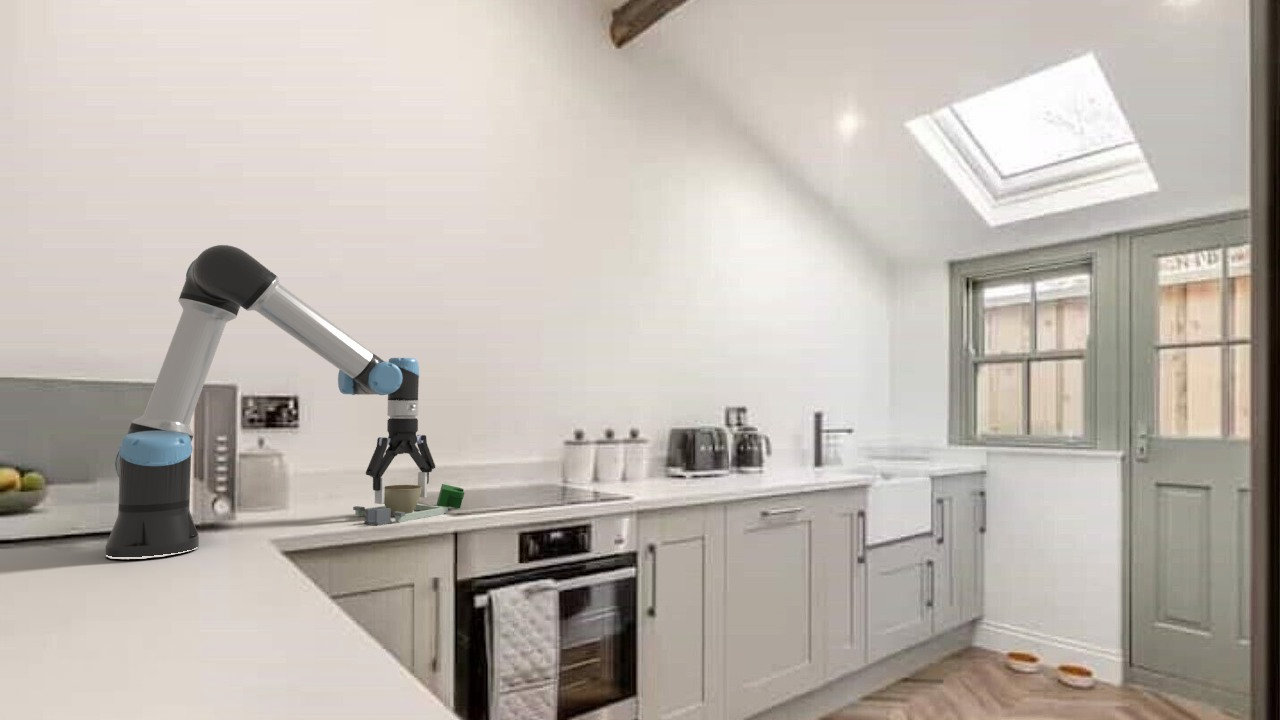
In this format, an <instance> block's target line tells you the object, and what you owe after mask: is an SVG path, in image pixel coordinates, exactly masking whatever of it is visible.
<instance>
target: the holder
mask: <svg viewBox="0 0 1280 720" xmlns="http://www.w3.org/2000/svg"><path fill="white" fill-rule="evenodd" d="M376 507H377V506H373V507H372V508H376ZM378 507H382V509H385V508H386V507H385V505H380V506H378ZM369 508H370V507H368V508H366V507H364V506H359V505H357V506H353V507H352V510H353V511H354V512H355V513H354V515H355V517H364V516H365V517H366V509H369ZM418 510H420V511H418ZM444 513H446V514H448V513H449V507H448V506H446V507H441V506H437V505H431V504H421V503H417V505H416V507H415V509H414V511H413V512H412V513H408V514H405V512H398V511H396V512H393V515H394V516H393V517H395V519H394V521H395V523H402V521H403V522H408V520H409V521H414V520H419V519H423V518H424V517H425V518H429V516H430V517H435V516H440V515H439V514H441V515H445V514H444ZM434 515H435V516H434ZM425 518H424V519H425Z"/></svg>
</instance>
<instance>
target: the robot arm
mask: <svg viewBox="0 0 1280 720" xmlns="http://www.w3.org/2000/svg"><path fill="white" fill-rule="evenodd" d="M279 281H280V280H279V277H278V275H276V274H275V273H274V272H272V271H271V270H270V269H268V268H267V267H266V266H264V265H263V264H262V263H261V262H260V261H258V260H257V259H255V258H254V257H253V256H251V255H250V254H249V253H248V252H246V251H244V250H243V249H241V248H238V247H236V246H233V245H228V244H217V245H214V246H210V247H208V248H206V249H204V250H203V251H202V252H201V253H200V254H199V255H198V256H197V257H196V258H195V259H194V260H193V261H191V263H190V264H189V266H188V268H187V270H186V274H185V281H184V283H183V284H184V285H183V287H182V288H181V292H180V295H179V297H178V302H179V304H180V306H181V308H182V313H181V316H180V318H179V321H178V323H177V325H176V329H175V331H174V334H173V336H172V339H171V341H170V344H169V347H168V349H167V352H166V355H165V358H164V360H163V362H162V364H161V365H162V366H161V368H160V371H159V374H158V376H157V378H156V380H155V383H154V387H153V390H152V391H151V394H150V397H149V399H148V403H147V404H146V407H145V410H144V412H143V414H142V416H139V417H138V418H136V419H133V420H132V421H131V422H130V426H129V428H128V431H127V433H126V434H125V435H124V436H123V437H122V438H121V442H120V446H119V447H118V451H117V454H116V456H115V461H114V466H115V471H116V474H117V476H118V478H119V479H118V482H119V483H118V505H117V506H118V508H117V509H118V510H117V517H116V519H115V522H114V525H113V527H112V530H111V532H110V535H109V537H108V540H107V541H106V545H105V554H106V555H108V556H112V557H142V556H154V555H163V554H171V553H178V552H183V551H187V550H192V549H194V548H196V547H198V546H199V542H200V540H199V539H200V537H199V534H198V529H197V528H196V525H195V522H194V520H193V516H192V513H191V511H190V510H191V509H190V503H191V502H190V501H191V500H190V499H191V498H190V497H191V496H190V495H191V474H192V473H191V470H192V469H191V468H192V453H193V446H192V441H193V438H194V435H195V434H194V432H193V431H192V429H191V428H190V424H191V421H192V417H193V415H194V413H195V410H196V407H197V404H198V402H199V399H200V396H201V393H202V391H203V388H204V385H205V382H206V379H207V378H208V377H207V376H208V374H209V372H210V369H211V365H212V363H213V360H214V358H215V356H216V352H217V349H218V347H219V344H220V340H221V338H222V336H223V333H224V330H225V327H226V324H227V323H228V322H230V321H233V320H235V319H236V318H237V317H238V314H239V311H240V309H241V308H242V309H244V310H245V311H247V312H248V311H250V312H251V311H253V312H254V311H255V312H257V313H258V314H260V315H261V316H262V317H264V318H266V319H267V320H268V321H270V322H271V323H273V324H274V325H276V326H277V327H278V328H280V329H281V330H282V331H284V332H285V333H287V334H288V335H290V336H292V338H294V339H296V340H297V341H298V342H299V343H301V344H302V345H304V346H305V347H307V348H308V349H309V350H311V351H313V352H314V353H316V354H317V355H318V356H320V357H321V358H322V359H324V360H325V361H327V362H328V363H330V364H331V365H332V366H334V367H336V368H337V369H338V375H337V385H338V389H339V392H340V393H341V394H343V395H352V396H356V395H367V396H368V395H369V396H370V395H379V396H385V395H386V396H387V417H389V418H388V419H387V425H386V426H387V428H386V429H387V430H386V432H387V433H388V437H383V436H382V437H379V436H378V437H377V439H376V440H377V441H376V447H375V450H374V452H373V454H372V457H371V459H370V461H369V464H368V466H367V468H366V471H365V475H366V476H370V477H371V478H372V490H373V491H374V504H375V505H385V504H384V493H385V486H386V485H385V484H386V483H385V481H386V479H385V478H386V477H383V475H384V474H385V472H386V471H387V469H388V468H389V466H390V465H391V464H392V462H393V461H394V458H395V457H397V456H398V455H403V454H408V455H409V456H410V457H411V459H412V460H413V461H414V463H415V465H416V466H417V467H418V468H419V470H420V471H418V472H417V485H418V486H422V489H421V494H420V497H419V498H427V497H428V484H429V483H430V478H429V477H430V476H429V475H430V473H432V472H433V470H434V469H436V463H435V461H434V459H433V456H432V453H431V450H430V447H429V446H428V441H427V435H425V434H417V432H418V431H419V419H418V418H416V417H417V416H418V415H419V385H420V383H419V382H420V381H419V379H420V371H419V370H420V366H419V361H418V359H416V358H414V357H391V358H388V361H385V360H383V359H382V358H381V357H379V356H378V355H376V354H375V353H373V352H372V351H371V350H369V349H368V348H367V347H366V346H364V344H363V345H362V343H360V342H359V341H357V340H356V339H355V338H353V337H352V336H350V335H349V334H348V333H347V332H345V331H344V330H343V329H341V328H340V327H338V326H337V325H335V323H333V322H331V320H329V319H328V318H326V317H325V316H323V315H322V314H321V313H320V312H318V311H317V310H316V309H314V308H313V307H311V306H310V305H309V304H307V303H306V302H305V301H303V300H302V299H301V298H299V297H298V296H297V295H296V294H294V293H292V292H291V291H290V290H288V289H287V287H285V286H283V285H281V284H280V282H279ZM416 445H417V446H416ZM199 547H200V546H199ZM199 547H198V548H199ZM105 554H104V555H105Z"/></svg>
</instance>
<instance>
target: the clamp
mask: <svg viewBox="0 0 1280 720" xmlns="http://www.w3.org/2000/svg"><path fill="white" fill-rule="evenodd" d="M464 496H465V491H464V488H461V487H459V486H453V485H449V484H442V483H441V487H440V490H439V493H438V498H437V502H436V506H441V507H448V508H453V509H457V508H460V509H461V506H462V502H463V499H464Z"/></svg>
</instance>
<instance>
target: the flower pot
mask: <svg viewBox="0 0 1280 720" xmlns="http://www.w3.org/2000/svg"><path fill="white" fill-rule="evenodd" d="M421 489H422V486H418V484H393V485H385V493H384V504H383V505H384V506H385V507H386V508H391V517H395V516H394V515H393V512H396V511H398V512H405V514H408V513H414V512H415V510H414V509H415V507H416V505H417V504H419V500H420V498H421V497H420V494H421Z"/></svg>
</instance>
